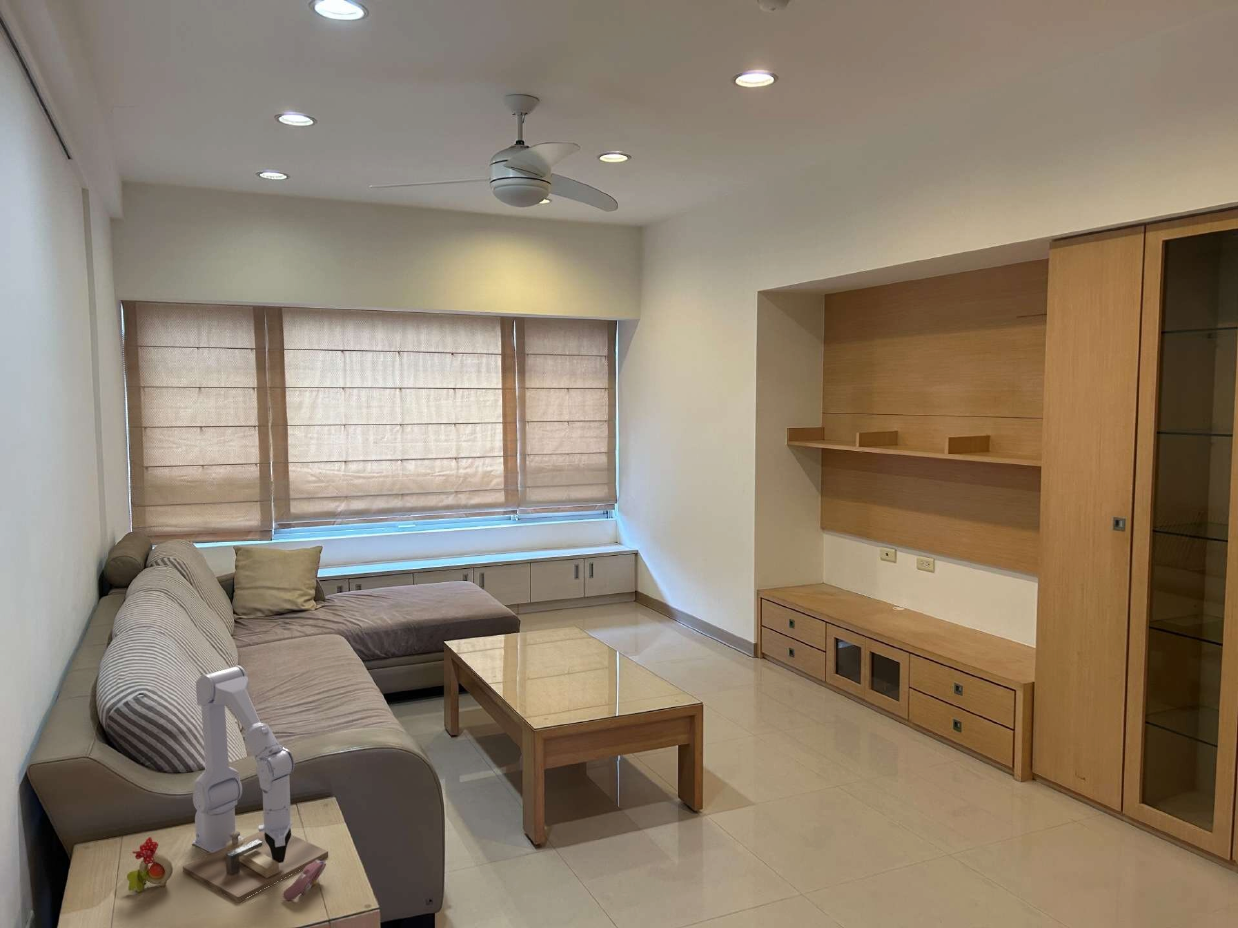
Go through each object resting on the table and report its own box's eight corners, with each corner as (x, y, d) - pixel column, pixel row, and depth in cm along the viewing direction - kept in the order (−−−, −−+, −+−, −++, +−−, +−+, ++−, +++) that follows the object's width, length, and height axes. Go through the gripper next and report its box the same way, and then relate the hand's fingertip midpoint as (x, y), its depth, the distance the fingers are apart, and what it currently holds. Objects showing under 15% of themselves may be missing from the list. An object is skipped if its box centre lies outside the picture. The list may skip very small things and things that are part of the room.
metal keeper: (226, 873, 198) (225, 853, 198) (257, 858, 205) (257, 839, 204) (231, 875, 197) (230, 856, 197) (262, 860, 204) (262, 841, 203)
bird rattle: (170, 886, 199) (132, 871, 199) (188, 842, 198) (149, 828, 198) (156, 902, 193) (117, 887, 192) (175, 857, 192) (135, 842, 192)
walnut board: (183, 871, 201) (182, 866, 201) (272, 830, 220) (272, 825, 220) (238, 902, 189) (238, 897, 189) (328, 855, 208) (328, 851, 208)
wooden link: (223, 853, 206) (222, 833, 206) (239, 846, 210) (238, 827, 209) (264, 878, 195) (263, 858, 195) (281, 870, 198) (280, 851, 198)
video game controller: (297, 909, 189) (309, 883, 188) (279, 898, 190) (292, 872, 189) (321, 884, 199) (333, 859, 198) (304, 874, 199) (316, 848, 198)
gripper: (255, 795, 204) (258, 851, 205) (259, 822, 191) (261, 882, 192) (288, 789, 207) (290, 844, 208) (294, 815, 194) (296, 874, 195)
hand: (278, 862), depth 200 cm, fingers closed, pressing on wooden link
